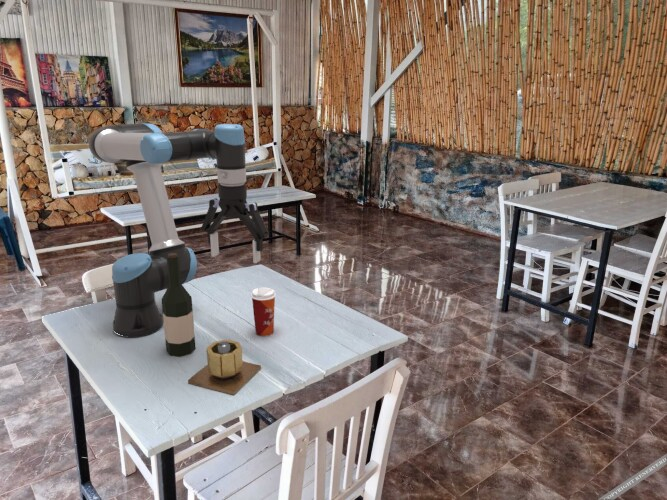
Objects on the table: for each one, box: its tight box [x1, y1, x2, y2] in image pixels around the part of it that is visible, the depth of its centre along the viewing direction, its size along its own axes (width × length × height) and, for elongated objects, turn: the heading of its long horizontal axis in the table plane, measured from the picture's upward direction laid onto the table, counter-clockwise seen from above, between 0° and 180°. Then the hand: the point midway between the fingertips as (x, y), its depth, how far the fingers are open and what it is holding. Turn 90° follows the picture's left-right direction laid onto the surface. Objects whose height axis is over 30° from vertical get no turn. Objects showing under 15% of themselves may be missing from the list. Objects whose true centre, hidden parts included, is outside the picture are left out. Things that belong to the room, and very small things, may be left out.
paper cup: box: [250, 287, 277, 337], centre depth 165 cm, size 8×8×14 cm
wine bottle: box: [161, 253, 197, 358], centre depth 151 cm, size 8×8×30 cm
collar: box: [205, 339, 243, 377], centre depth 141 cm, size 9×9×6 cm
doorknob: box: [187, 342, 262, 396], centre depth 141 cm, size 14×14×10 cm
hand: (235, 258), depth 147 cm, fingers open, 13 cm apart
